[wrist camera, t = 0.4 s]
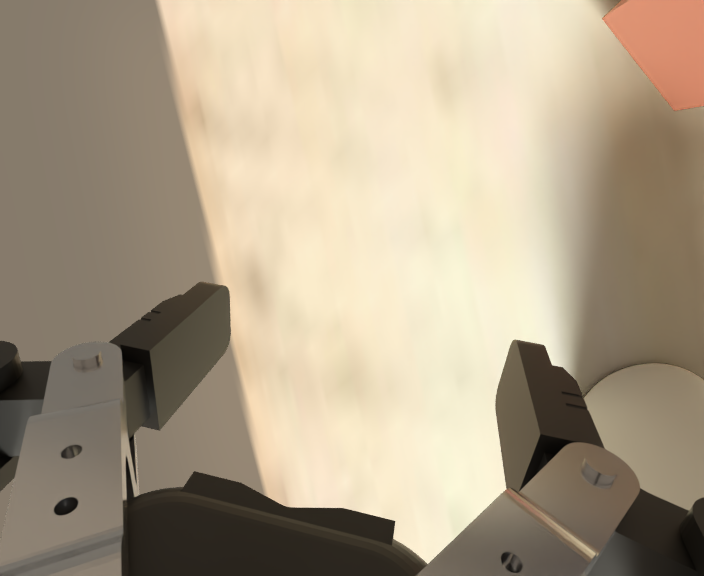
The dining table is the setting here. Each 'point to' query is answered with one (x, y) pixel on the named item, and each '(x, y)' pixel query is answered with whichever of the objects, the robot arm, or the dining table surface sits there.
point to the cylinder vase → (654, 427)
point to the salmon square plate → (665, 45)
